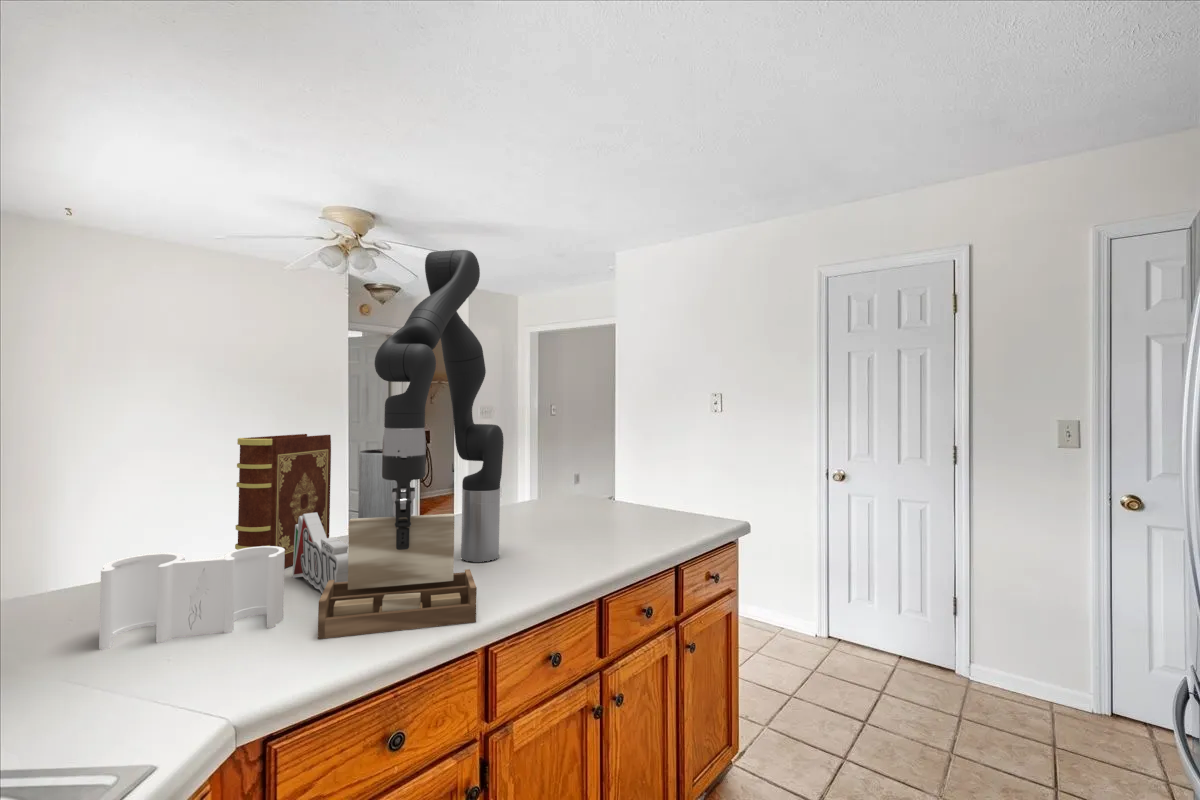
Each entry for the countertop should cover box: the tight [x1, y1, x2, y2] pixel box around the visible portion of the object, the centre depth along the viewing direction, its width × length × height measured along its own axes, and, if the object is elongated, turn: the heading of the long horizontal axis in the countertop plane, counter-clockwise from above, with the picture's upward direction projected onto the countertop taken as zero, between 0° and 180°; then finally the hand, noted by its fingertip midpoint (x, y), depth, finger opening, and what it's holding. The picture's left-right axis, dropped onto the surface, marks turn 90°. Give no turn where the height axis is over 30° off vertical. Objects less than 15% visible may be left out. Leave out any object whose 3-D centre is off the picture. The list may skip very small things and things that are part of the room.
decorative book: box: [234, 433, 332, 569], centre depth 132 cm, size 22×8×30 cm, turn 168°
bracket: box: [98, 546, 285, 651], centre depth 94 cm, size 25×10×12 cm, turn 112°
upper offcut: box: [382, 593, 421, 612], centre depth 97 cm, size 3×6×2 cm, turn 104°
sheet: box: [347, 513, 455, 590], centre depth 102 cm, size 2×18×12 cm, turn 109°
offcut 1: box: [333, 598, 374, 617], centre depth 94 cm, size 3×6×4 cm, turn 109°
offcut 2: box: [431, 593, 461, 607], centre depth 99 cm, size 3×5×4 cm, turn 108°
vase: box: [357, 448, 397, 518], centre depth 130 cm, size 10×10×27 cm
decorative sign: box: [291, 512, 349, 594], centre depth 115 cm, size 23×3×15 cm, turn 47°
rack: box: [317, 568, 478, 640], centre depth 99 cm, size 12×25×6 cm, turn 109°
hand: (402, 546), depth 102 cm, fingers closed on sheet, 2 cm apart
